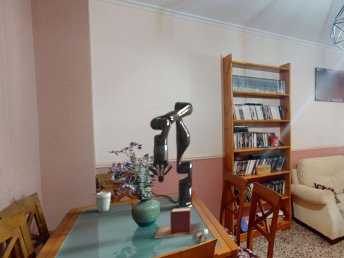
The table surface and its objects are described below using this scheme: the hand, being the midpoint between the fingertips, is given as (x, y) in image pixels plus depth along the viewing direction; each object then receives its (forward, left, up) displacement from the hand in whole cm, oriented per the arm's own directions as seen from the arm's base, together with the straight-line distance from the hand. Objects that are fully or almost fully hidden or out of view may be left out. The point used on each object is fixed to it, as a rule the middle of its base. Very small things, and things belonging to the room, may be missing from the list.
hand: (161, 182), depth 147 cm
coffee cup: (-50, -28, -27) cm, 63 cm away
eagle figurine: (+29, +14, -27) cm, 42 cm away
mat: (+10, +7, -27) cm, 30 cm away
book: (+11, +9, -27) cm, 30 cm away
